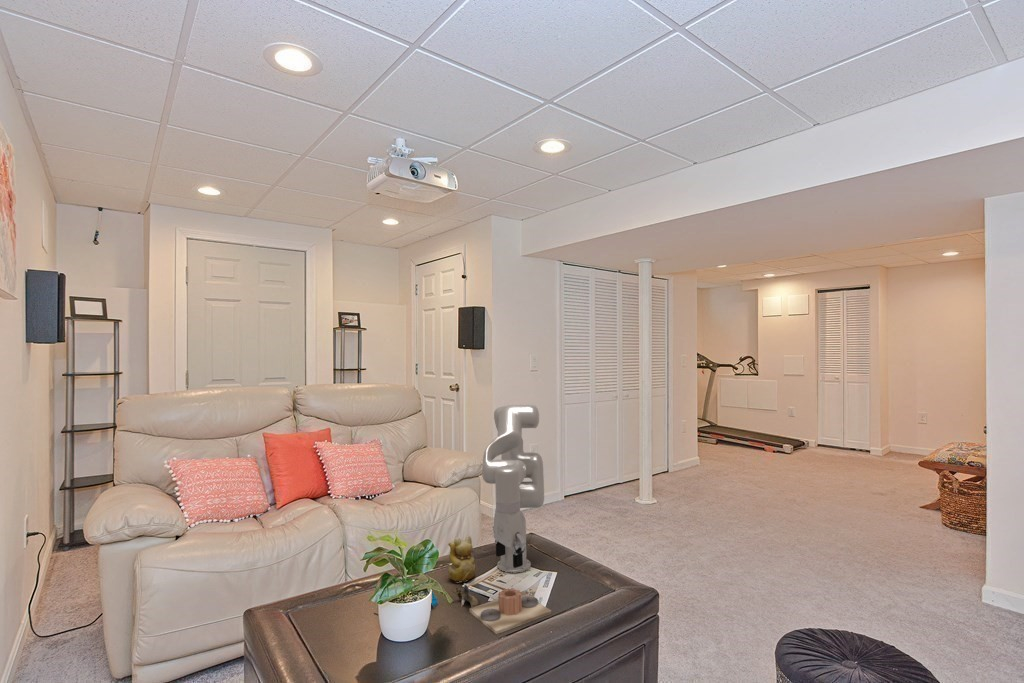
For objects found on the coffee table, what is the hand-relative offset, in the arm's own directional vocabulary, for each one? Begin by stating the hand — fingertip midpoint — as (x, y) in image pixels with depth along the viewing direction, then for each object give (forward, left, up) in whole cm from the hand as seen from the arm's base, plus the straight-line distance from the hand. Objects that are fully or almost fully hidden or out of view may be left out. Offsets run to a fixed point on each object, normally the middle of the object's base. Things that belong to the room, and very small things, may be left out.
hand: (509, 560), depth 164 cm
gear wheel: (+1, 0, -15) cm, 15 cm away
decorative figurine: (-28, -1, -16) cm, 33 cm away
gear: (-20, -19, -16) cm, 32 cm away
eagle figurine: (-12, -9, -16) cm, 22 cm away
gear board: (+1, 0, -16) cm, 16 cm away
